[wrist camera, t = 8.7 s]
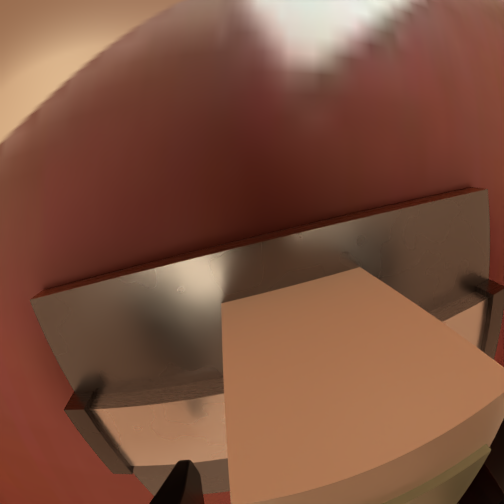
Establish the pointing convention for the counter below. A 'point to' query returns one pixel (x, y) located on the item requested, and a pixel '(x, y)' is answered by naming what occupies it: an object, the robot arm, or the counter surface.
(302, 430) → the din module
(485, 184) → the counter surface
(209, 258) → the din rail
